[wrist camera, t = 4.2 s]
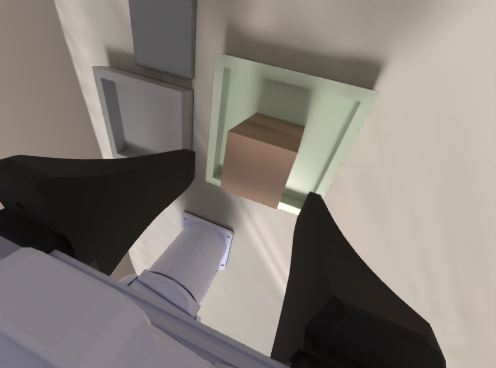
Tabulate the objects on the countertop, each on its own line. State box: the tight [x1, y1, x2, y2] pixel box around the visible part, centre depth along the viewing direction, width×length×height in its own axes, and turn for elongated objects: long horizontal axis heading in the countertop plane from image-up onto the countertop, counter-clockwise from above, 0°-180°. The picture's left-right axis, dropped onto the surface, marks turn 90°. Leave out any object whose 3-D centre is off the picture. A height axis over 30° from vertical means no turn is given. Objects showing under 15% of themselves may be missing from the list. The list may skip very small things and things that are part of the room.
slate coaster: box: [129, 0, 196, 79], centre depth 17 cm, size 6×6×1 cm
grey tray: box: [92, 66, 194, 159], centre depth 21 cm, size 10×10×2 cm
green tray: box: [205, 53, 380, 215], centre depth 18 cm, size 12×12×2 cm
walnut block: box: [220, 112, 305, 209], centre depth 15 cm, size 4×4×6 cm
